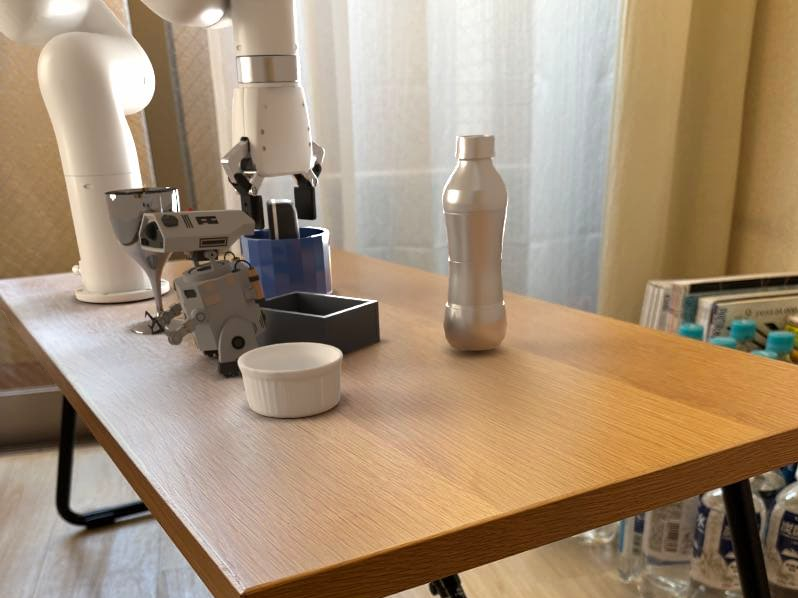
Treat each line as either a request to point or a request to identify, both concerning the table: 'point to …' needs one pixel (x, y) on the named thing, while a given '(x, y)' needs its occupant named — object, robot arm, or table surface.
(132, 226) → the wine glass
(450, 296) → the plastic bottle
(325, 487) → the table surface
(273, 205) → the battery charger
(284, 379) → the ramekin
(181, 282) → the figurine
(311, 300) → the bin
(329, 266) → the cup
